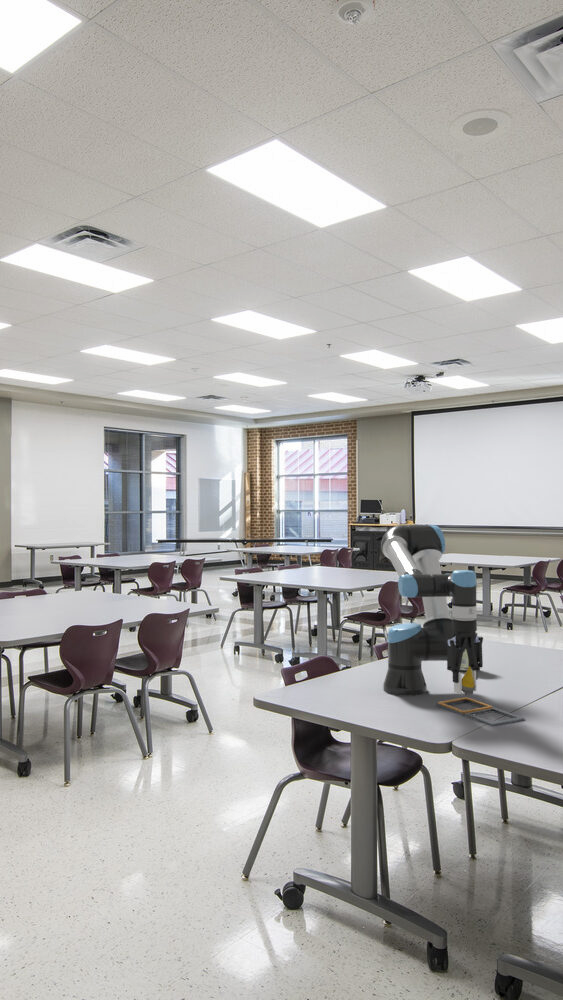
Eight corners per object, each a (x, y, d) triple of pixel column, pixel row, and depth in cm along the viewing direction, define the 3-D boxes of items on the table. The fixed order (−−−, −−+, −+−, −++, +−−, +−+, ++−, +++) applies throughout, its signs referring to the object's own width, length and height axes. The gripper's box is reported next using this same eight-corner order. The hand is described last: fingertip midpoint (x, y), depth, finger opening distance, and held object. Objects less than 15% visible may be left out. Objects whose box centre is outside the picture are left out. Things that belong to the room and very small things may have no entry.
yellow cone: (460, 690, 220) (465, 661, 219) (476, 696, 217) (481, 666, 215) (453, 694, 216) (458, 665, 214) (469, 700, 213) (474, 671, 211)
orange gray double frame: (436, 706, 219) (436, 702, 219) (466, 700, 225) (466, 696, 225) (492, 727, 197) (492, 723, 197) (524, 721, 203) (524, 717, 203)
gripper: (450, 622, 209) (450, 698, 209) (494, 618, 218) (495, 690, 217) (434, 619, 216) (434, 692, 216) (477, 615, 224) (478, 685, 224)
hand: (465, 691), depth 216 cm, fingers closed on yellow cone, 5 cm apart
